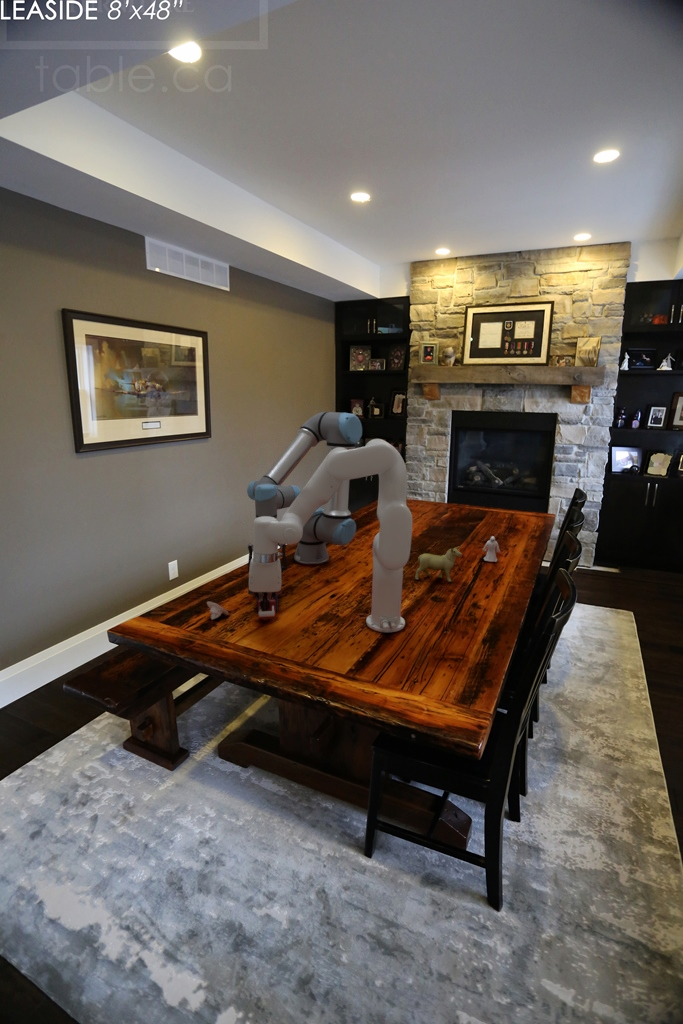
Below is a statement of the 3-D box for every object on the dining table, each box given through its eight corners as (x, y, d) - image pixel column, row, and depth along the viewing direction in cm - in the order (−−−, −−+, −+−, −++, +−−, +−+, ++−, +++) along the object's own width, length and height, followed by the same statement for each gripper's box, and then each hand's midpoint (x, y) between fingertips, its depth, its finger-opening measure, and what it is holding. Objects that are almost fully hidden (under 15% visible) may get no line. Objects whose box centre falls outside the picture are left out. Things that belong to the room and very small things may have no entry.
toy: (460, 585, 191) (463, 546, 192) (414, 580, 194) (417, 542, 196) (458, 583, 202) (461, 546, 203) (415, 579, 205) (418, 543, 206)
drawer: (275, 627, 158) (275, 609, 156) (258, 628, 157) (257, 610, 155) (275, 597, 179) (275, 581, 178) (260, 597, 178) (259, 581, 177)
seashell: (213, 627, 166) (197, 609, 165) (224, 617, 169) (208, 599, 168) (221, 623, 159) (205, 604, 159) (233, 612, 163) (217, 594, 162)
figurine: (481, 562, 222) (483, 536, 219) (482, 556, 230) (484, 531, 227) (499, 564, 220) (501, 538, 217) (499, 558, 228) (501, 533, 225)
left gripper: (293, 524, 183) (294, 583, 188) (238, 526, 180) (241, 585, 185) (295, 530, 176) (295, 591, 181) (237, 531, 173) (240, 593, 178)
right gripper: (289, 552, 159) (288, 605, 164) (241, 552, 157) (241, 606, 162) (290, 560, 152) (288, 615, 157) (240, 560, 150) (240, 616, 155)
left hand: (268, 588), depth 183 cm, fingers closed on cabinet, 7 cm apart
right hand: (264, 610), depth 159 cm, fingers closed
